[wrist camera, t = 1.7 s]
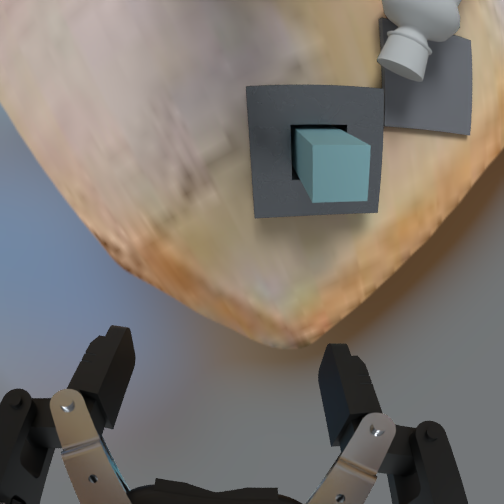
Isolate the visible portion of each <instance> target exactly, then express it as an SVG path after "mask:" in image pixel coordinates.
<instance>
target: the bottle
mask: <svg viewBox="0 0 504 504" xmlns="http://www.w3.org/2000/svg"><path fill="white" fill-rule="evenodd" d="M460 2H461V0H382V4H383V9H384V14H385V15H386V16H387V18H388V19H389V20H390V21H391V22H393V23H394V24H395V25H397V26H398V28H397V29H396V30H394V31H388V32H387V35H388V39H387V41H386V43H385V45H384V47H383V49H382V51H381V53H380V54H379V56H378V58H377V62H378V63H379V64H380V65H382V66H383V67H385V68H386V69H388V70H390V71H392V72H394V73H396V74H398V75H400V76H402V77H405V78H407V79H410V80H413V81H417V82H422V81H423V78H424V74H425V69H426V65H427V60H428V56H429V55H431V54H432V51H431V49H430V48H429V47H428V42H427V40H430V41H435V42H443V41H446V40H447V39H448V38H450V37H451V36H452V35H453V34H455V33H456V32H457V31H458V29H459V28H460V15H459V12H458V8H457V7H458V5H459V4H460Z"/></svg>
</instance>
